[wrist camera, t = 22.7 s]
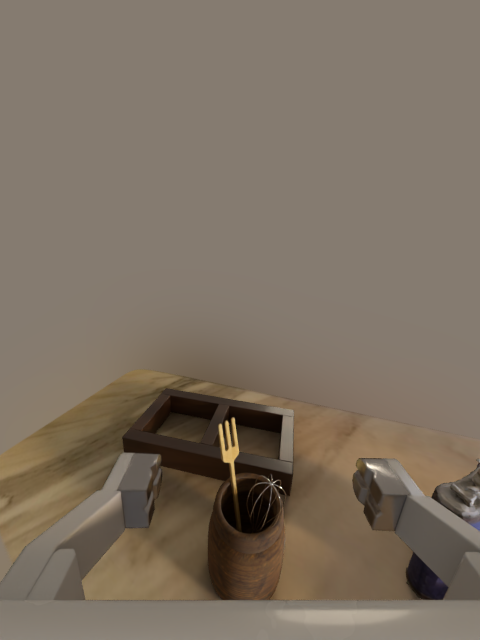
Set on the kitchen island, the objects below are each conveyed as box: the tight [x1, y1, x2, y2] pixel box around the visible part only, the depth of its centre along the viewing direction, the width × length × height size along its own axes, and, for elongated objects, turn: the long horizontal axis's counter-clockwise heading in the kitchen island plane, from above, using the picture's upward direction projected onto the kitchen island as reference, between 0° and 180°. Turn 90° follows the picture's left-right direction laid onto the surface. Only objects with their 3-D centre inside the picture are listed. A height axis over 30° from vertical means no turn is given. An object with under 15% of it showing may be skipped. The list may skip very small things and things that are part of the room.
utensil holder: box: [208, 418, 286, 600], centre depth 19 cm, size 6×6×12 cm
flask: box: [406, 459, 480, 600], centre depth 20 cm, size 9×3×11 cm, turn 115°
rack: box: [122, 388, 294, 496], centre depth 33 cm, size 10×20×3 cm, turn 78°
